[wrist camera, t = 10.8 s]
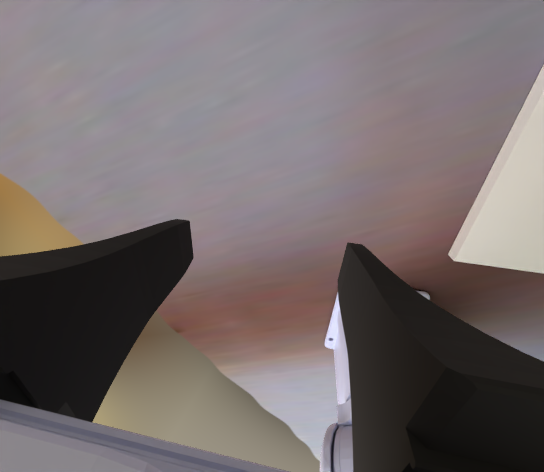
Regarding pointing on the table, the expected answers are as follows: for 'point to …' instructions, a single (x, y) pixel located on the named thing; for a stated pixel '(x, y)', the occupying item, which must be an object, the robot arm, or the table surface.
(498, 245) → the mounting plate
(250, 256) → the table surface
